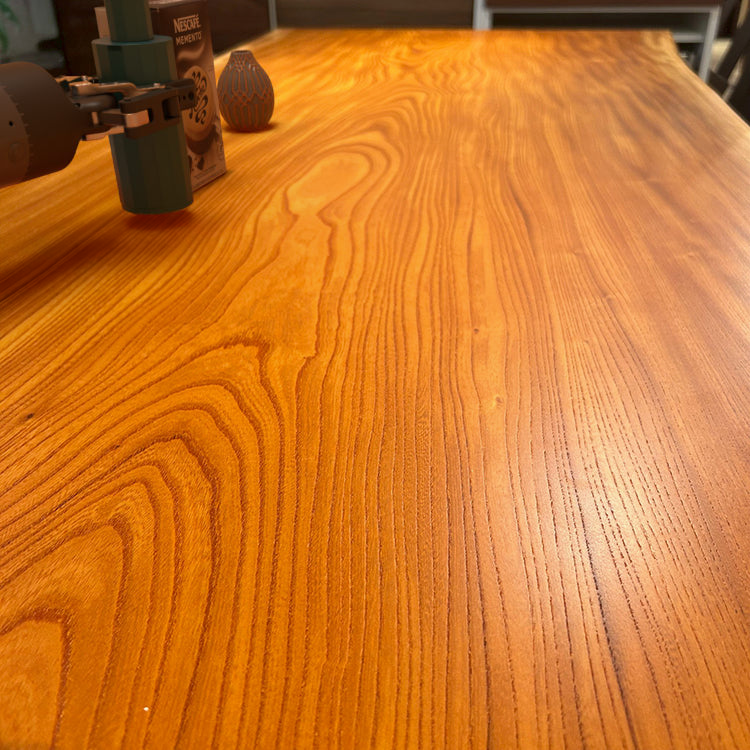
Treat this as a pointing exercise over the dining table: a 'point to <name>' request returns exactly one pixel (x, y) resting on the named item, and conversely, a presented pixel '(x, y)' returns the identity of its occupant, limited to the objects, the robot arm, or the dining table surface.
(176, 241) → the dining table surface
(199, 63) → the coffee box
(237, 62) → the vase
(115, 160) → the bottle
